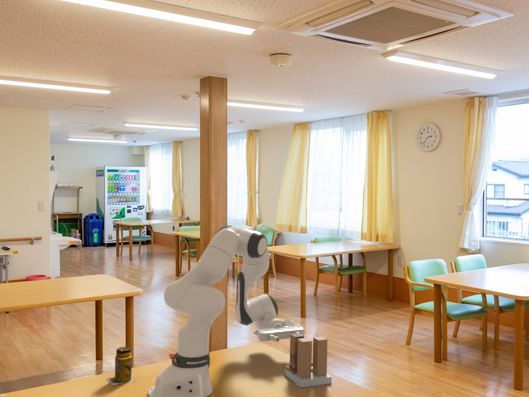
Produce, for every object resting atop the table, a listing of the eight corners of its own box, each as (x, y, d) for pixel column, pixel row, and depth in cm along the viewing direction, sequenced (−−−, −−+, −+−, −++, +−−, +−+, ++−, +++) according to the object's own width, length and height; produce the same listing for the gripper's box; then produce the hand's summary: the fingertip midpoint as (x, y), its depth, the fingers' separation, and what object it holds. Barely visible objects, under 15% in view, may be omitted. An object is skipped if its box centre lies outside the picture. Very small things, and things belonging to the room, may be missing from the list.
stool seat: (300, 387, 186) (301, 343, 186) (285, 374, 199) (286, 333, 199) (331, 383, 191) (332, 340, 191) (314, 370, 204) (315, 330, 204)
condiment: (134, 381, 189) (135, 349, 189) (112, 386, 185) (112, 353, 184) (128, 375, 195) (129, 344, 195) (106, 379, 191) (107, 348, 190)
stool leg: (293, 372, 194) (294, 336, 194) (289, 369, 198) (290, 333, 198) (303, 371, 196) (304, 335, 196) (298, 368, 200) (299, 333, 199)
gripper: (252, 324, 214) (264, 333, 202) (296, 320, 222) (310, 328, 209) (252, 338, 215) (264, 349, 202) (295, 334, 222) (310, 343, 209)
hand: (288, 338), depth 205 cm, fingers open, 8 cm apart
